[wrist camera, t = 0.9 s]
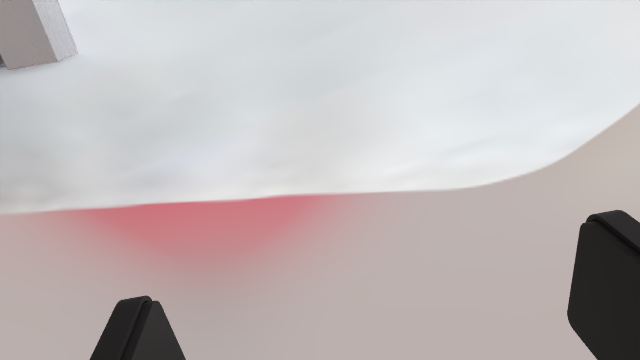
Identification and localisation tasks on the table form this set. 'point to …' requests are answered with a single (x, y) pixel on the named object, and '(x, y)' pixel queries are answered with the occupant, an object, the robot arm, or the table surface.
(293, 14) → the table surface
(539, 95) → the table surface
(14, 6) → the tilted grey slab block
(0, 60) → the square hole plate
